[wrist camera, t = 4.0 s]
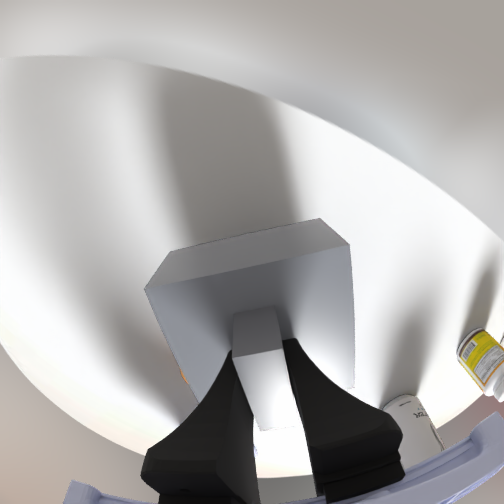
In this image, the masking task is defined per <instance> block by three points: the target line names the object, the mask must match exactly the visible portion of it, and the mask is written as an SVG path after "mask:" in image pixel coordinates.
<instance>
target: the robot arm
mask: <svg viewBox="0 0 504 504" xmlns="http://www.w3.org/2000/svg"><path fill="white" fill-rule="evenodd" d="M282 344H283V349H284V354H285V359H286V364H287V368H288V373H289V378H290V383H291V387H292V392H293V395H294V398H295V401H296V405H297V408H298V411H299V414H300V417H301V421H302V424H303V428H304V431H305V436H306V441H307V446H308V452H309V457H310V462H311V467H312V473H313V478H314V483H315V489H316V494H317V497H315V498H310V499H305V500H299V501H294V502H286V503H280V504H452V503H454V502H455V501H457V500H459V499H460V498H462V497H463V496H465V495H466V494H468V493H469V492H471V491H472V490H474V489H475V488H477V487H478V486H480V485H481V484H482V483H484V482H485V481H487V480H488V479H489V478H491V477H492V476H493V475H494V474H496V473H497V472H498V471H499V470H500V469H501V468H502V467H503V466H504V419H503V418H502V417H501V415H500V414H499V413H498V411H496V412H494V413H493V414H491V415H490V416H489V417H487V418H486V419H484V420H483V421H481V422H480V423H478V424H477V425H476V426H475V427H474V428H473V430H472V431H471V433H470V436H468V437H466V438H465V439H463V440H461V441H460V442H458V443H456V444H455V445H453V446H451V447H449V448H447V449H446V450H444V451H442V452H440V453H438V454H436V455H434V456H432V457H430V458H428V459H426V460H424V461H422V462H420V463H418V464H416V465H414V466H411V467H409V468H407V469H403V467H402V464H401V462H400V460H401V456H400V453H399V451H398V449H399V447H400V444H401V442H402V439H403V433H402V430H401V428H400V427H399V425H398V424H397V422H396V421H395V420H394V418H393V417H392V416H391V415H390V414H389V413H387V412H384V411H382V410H379V409H377V408H375V407H372V406H370V405H368V404H366V403H364V402H363V401H361V400H359V399H357V398H356V397H354V396H352V395H351V394H349V393H348V392H346V391H345V390H343V389H342V388H341V387H339V386H338V385H337V384H335V383H334V382H333V381H332V380H331V379H329V378H328V377H327V376H326V375H325V374H324V373H323V372H322V371H321V370H320V369H319V368H318V367H317V366H316V365H315V363H314V362H313V361H312V360H311V359H310V358H309V356H308V355H307V354H306V352H305V351H304V350H303V348H302V347H301V345H300V343H299V341H298V339H296V338H291V339H286V340H282ZM253 420H254V415H253V412H252V410H251V407H250V405H249V402H248V399H247V397H246V394H245V392H244V389H243V386H242V384H241V381H240V379H239V376H238V373H237V371H236V368H235V365H234V362H233V360H232V350H230V351H229V352H228V354H227V357H226V359H225V361H224V363H223V365H222V367H221V369H220V371H219V373H218V375H217V377H216V379H215V381H214V382H213V384H212V386H211V387H210V389H209V390H208V392H207V394H206V395H205V397H204V398H203V399H202V401H201V402H200V404H199V405H198V406H197V407H196V409H195V410H194V411H193V412H192V413H191V414H190V415H189V417H188V418H187V419H186V420H185V421H184V422H183V423H182V424H181V425H180V426H179V427H177V428H176V429H175V430H174V431H173V432H172V433H170V434H169V435H168V436H167V437H165V438H164V439H163V440H161V441H160V442H158V443H157V444H155V445H154V446H152V447H151V448H149V449H148V450H147V453H146V456H145V459H144V463H143V467H142V471H141V475H140V476H141V478H142V480H143V481H144V482H146V484H147V485H149V486H150V487H151V488H153V489H154V490H155V491H157V492H158V493H159V494H160V496H159V502H158V504H261V503H260V498H259V490H258V482H257V474H256V465H255V457H256V456H257V451H256V449H255V447H254V444H253ZM63 504H156V503H149V502H142V501H137V500H132V499H126V498H121V497H117V496H113V495H108V494H104V493H101V492H100V491H99V490H98V489H96V488H95V487H93V486H91V485H89V484H86V483H82V482H79V481H76V480H71V482H70V485H69V488H68V491H67V493H66V496H65V499H64V502H63Z"/></svg>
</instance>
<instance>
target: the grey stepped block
mask: <svg viewBox="0 0 504 504" xmlns="http://www.w3.org/2000/svg"><path fill="white" fill-rule="evenodd" d="M144 290H145V292H146V295H147V297H148V299H149V302H150V304H151V307H152V309H153V311H154V314H155V316H156V318H157V321H158V323H159V325H160V327H161V329H162V332H163V334H164V336H165V338H166V340H167V342H168V345H169V347H170V349H171V351H172V353H173V355H174V357H175V359H176V361H177V363H178V365H179V367H180V369H181V371H182V373H183V375H184V377H185V379H186V380H187V382H188V384H189V386H190V388H191V390H192V392H193V393H194V395H195V397H196V399H197V401H198V402H199V404H200V402H201V401H202V399H203V398H204V397H205V395H206V394H207V392H208V390H209V389H210V387H211V386H212V384H213V382H214V381H215V379H216V377H217V375H218V373H219V371H220V369H221V367H222V365H223V363H224V361H225V359H226V357H227V354H228V352H229V351H230V350H232V360H233V362H234V365H235V368H236V371H237V373H238V376H239V379H240V381H241V384H242V386H243V389H244V392H245V394H246V397H247V399H248V402H249V405H250V407H251V410H252V412H253V415H254V417H255V419H256V422H257V424H258V427H259V429H260V431H265V430H271V429H277V428H283V427H289V426H294V425H299V423H298V418H297V412H296V407H295V402H296V401H295V398H294V395H293V392H292V387H291V383H290V378H289V373H288V368H287V364H286V359H285V354H284V349H283V344H282V340H286V339H291V338H296V339H298V341H299V343H300V345H301V347H302V348H303V350H304V351H305V352H306V354H307V355H308V356H309V358H310V359H311V360H312V361H313V362H314V363H315V365H316V366H317V367H318V368H319V369H320V370H321V371H322V372H323V373H324V374H325V375H326V376H327V377H328V378H329V379H331V380H332V381H333V382H334V383H335V384H337V385H338V386H339V387H341V388H342V389H343V390H347V389H351V388H354V382H355V320H354V296H353V280H352V266H351V255H350V245H349V244H348V243H347V242H346V241H345V240H344V239H343V238H342V237H341V236H340V235H338V234H337V233H336V232H335V231H334V230H333V229H332V228H331V227H329V226H328V225H327V224H326V223H325V222H324V221H323V220H322V219H320V218H318V219H313V220H308V221H304V222H299V223H294V224H290V225H285V226H280V227H276V228H271V229H266V230H262V231H257V232H253V233H248V234H244V235H239V236H235V237H230V238H226V239H222V240H217V241H213V242H208V243H204V244H200V245H195V246H191V247H187V248H183V249H178V250H174V251H170V252H169V254H168V255H167V257H166V258H165V259H164V261H163V262H162V264H161V265H160V266H159V268H158V269H157V271H156V272H155V274H154V275H153V277H152V278H151V279H150V281H149V282H148V284H147V285H146V287H145V288H144Z"/></svg>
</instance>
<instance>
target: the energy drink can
mask: <svg viewBox="0 0 504 504" xmlns="http://www.w3.org/2000/svg"><path fill="white" fill-rule="evenodd" d="M382 411H384V412H387V413H389V414H390V415H391V416H392V417H393V418H394V420H395V421H396V422H397V424H398V425H399V427H400V428H401V430H402V433H403V439H402V442H401V444H400V447H399V449H398V451H399V453H400V456H401V460H400V462H401V464H402V467H403V469H407V468H409V467H411V466H414V465H416V464H418V463H420V462H422V461H424V460H426V459H428V458H430V457H432V456H434V455H436V454H438V453H440V452H442V451H444V450H446V447H445V445H444V443H443V441H442V439H441V438H440V436H439V434H438V432H437V430H436V428H435V427H434V425H433V423H432V421H431V420H430V418H429V416H428V414H427V413H426V411H425V409H424V407H423V406H422V404H421V402H420V401H419V399H418V398H417V397H415V396H412V395H409V394H406V395H402V396H399V397H397V398H395V399H393V400H392V401H390V402H389V403H388V404H387V405H386V406H385V407H384V408H383V410H382Z"/></svg>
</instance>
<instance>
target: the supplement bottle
mask: <svg viewBox="0 0 504 504" xmlns="http://www.w3.org/2000/svg"><path fill="white" fill-rule="evenodd" d="M457 360H458V362H459V363H460V364H461V365H462V366H463V368H464V369H465V370H466V371H467V372H468V374H469V375H470V376H471V377H472V379H473V380H474V381H475V382H476V384H477V385H478V386H479V387H480V389H481V390H482V391H483V393H484V394H485V395H486V396H491V395H494V396H495V398H496V399H497V400H498V401H499V402H502V401H504V348H503V347H502V346H501V345H500V344H499V343H498V342H497V341H496V340H495V339H494V338H493V337H492V336H491V335H490V334H488V333H487V332H486V331H485V330H484V329H481V328H479V329H476V330H474V331H472V332H471V333H470V334H469V335H467V337H466V338H465V339H464V340H463V342H462V343H461V345H460V347H459V349H458V352H457Z"/></svg>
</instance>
